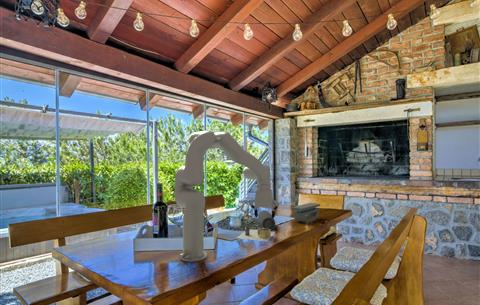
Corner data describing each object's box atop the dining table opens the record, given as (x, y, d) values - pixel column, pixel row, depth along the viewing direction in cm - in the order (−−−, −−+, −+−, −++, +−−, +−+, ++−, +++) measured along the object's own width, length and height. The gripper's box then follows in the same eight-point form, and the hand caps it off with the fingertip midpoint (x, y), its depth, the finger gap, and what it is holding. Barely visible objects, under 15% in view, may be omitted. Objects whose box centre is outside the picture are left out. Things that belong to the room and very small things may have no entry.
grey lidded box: (310, 217, 218) (310, 202, 218) (320, 218, 212) (320, 203, 212) (291, 222, 200) (291, 207, 200) (301, 224, 194) (301, 208, 195)
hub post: (248, 235, 164) (248, 226, 164) (244, 235, 165) (244, 226, 165) (250, 234, 166) (250, 225, 166) (245, 234, 167) (245, 225, 167)
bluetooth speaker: (257, 224, 198) (257, 209, 198) (270, 223, 198) (270, 209, 198) (261, 233, 175) (260, 216, 175) (276, 232, 175) (276, 216, 175)
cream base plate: (267, 243, 153) (267, 232, 153) (235, 240, 159) (235, 229, 160) (275, 234, 172) (275, 224, 172) (247, 231, 178) (247, 221, 178)
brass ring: (268, 238, 158) (268, 231, 158) (256, 237, 160) (256, 230, 160) (271, 235, 164) (271, 228, 164) (259, 234, 167) (259, 227, 167)
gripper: (247, 187, 162) (248, 218, 162) (277, 188, 156) (278, 219, 156) (251, 186, 169) (252, 215, 169) (280, 186, 163) (281, 216, 163)
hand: (264, 217), depth 163 cm, fingers open, 9 cm apart
